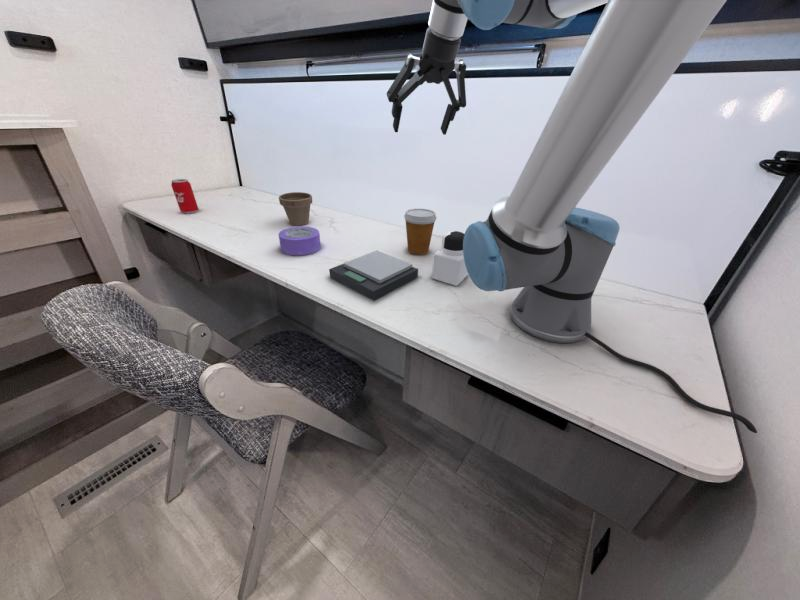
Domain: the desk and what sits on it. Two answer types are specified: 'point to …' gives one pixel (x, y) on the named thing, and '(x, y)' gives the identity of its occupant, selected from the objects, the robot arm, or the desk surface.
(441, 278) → the medicine bottle
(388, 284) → the scale
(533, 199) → the robot arm
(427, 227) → the disposable coffee cup
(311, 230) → the tape roll
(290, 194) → the flower pot
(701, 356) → the desk surface
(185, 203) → the beverage can
